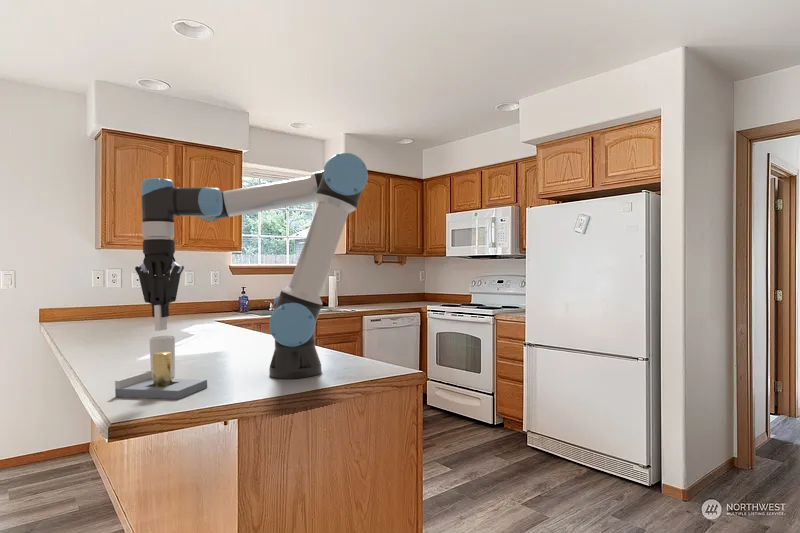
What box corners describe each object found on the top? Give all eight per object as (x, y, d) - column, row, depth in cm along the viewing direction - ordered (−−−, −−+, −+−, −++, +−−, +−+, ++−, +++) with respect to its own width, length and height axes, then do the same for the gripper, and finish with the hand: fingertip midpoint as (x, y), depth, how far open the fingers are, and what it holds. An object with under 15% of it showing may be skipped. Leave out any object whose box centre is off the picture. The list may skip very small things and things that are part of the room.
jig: (207, 387, 136) (206, 372, 136) (178, 399, 125) (178, 382, 125) (148, 385, 140) (148, 371, 140) (115, 396, 128) (115, 380, 128)
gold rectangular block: (175, 390, 134) (174, 352, 134) (164, 394, 130) (163, 355, 130) (161, 389, 135) (160, 351, 135) (149, 393, 131) (148, 354, 131)
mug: (170, 379, 147) (169, 338, 147) (146, 380, 146) (145, 339, 146) (182, 372, 157) (181, 333, 157) (160, 373, 156) (159, 334, 156)
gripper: (189, 238, 135) (192, 328, 135) (146, 240, 137) (149, 328, 137) (171, 237, 127) (173, 332, 127) (126, 239, 130) (128, 331, 130)
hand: (160, 329), depth 132 cm, fingers closed
